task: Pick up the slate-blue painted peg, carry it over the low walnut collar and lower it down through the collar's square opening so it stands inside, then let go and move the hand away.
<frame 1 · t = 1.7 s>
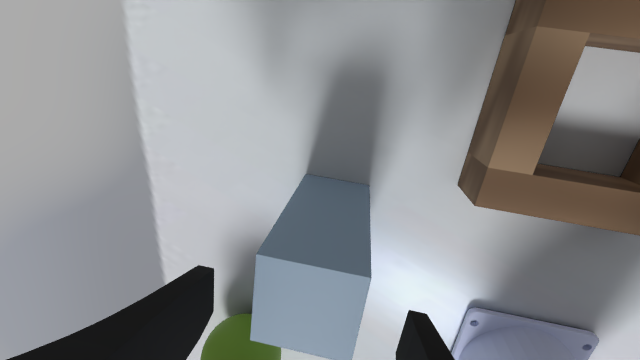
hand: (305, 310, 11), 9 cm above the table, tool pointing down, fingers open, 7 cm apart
walnut collar: (585, 112, 15), on the table
snail figurine: (262, 323, 24), on the table
slate-blue peg: (332, 208, 19), on the table
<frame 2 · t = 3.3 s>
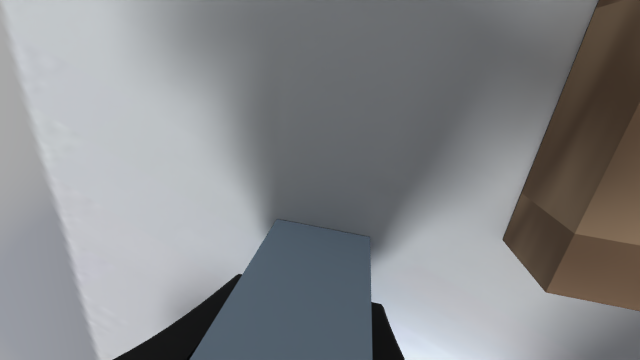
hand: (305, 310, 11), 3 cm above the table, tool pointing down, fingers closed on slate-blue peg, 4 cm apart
slate-blue peg: (316, 267, 13), on the table, touching gripper
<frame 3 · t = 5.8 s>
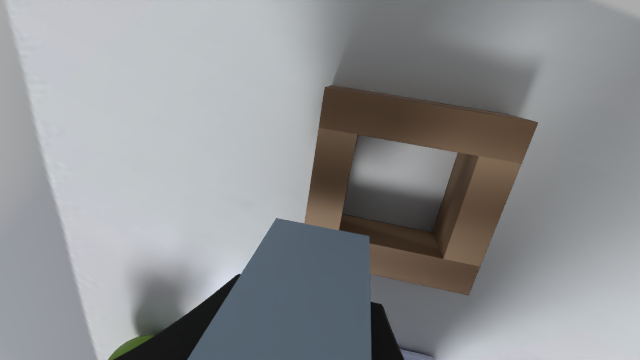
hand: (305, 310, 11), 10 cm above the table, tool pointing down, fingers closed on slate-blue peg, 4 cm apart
walnut collar: (397, 181, 19), on the table
snail figurine: (168, 342, 27), on the table
slate-blue peg: (316, 266, 13), point 7 cm above the table, touching gripper
when the fingers open (4 cm above the table, at t = 8.4 s): slate-blue peg drops 1 cm, resting in walnut collar.
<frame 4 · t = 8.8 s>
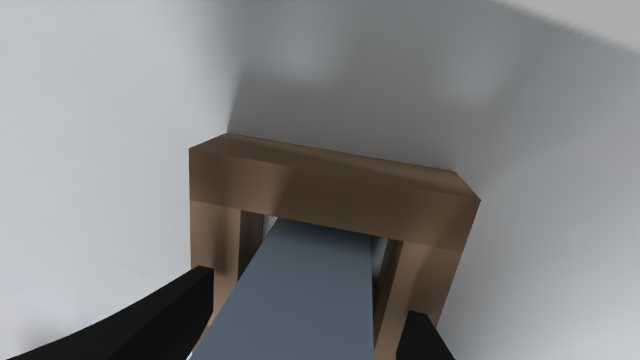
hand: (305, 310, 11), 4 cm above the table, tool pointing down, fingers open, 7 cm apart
walnut collar: (320, 250, 15), on the table
slate-blue peg: (321, 249, 15), resting in walnut collar
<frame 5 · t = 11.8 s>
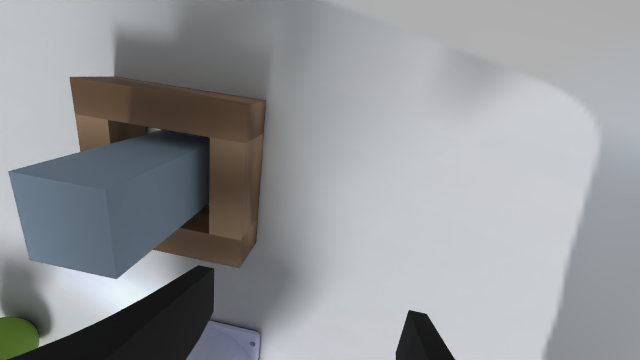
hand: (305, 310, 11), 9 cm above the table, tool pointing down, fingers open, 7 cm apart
walnut collar: (189, 164, 20), on the table
snail figurine: (35, 324, 28), on the table
slate-blue peg: (189, 164, 20), resting in walnut collar
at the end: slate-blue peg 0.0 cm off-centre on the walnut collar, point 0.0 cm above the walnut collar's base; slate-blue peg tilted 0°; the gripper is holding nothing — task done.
